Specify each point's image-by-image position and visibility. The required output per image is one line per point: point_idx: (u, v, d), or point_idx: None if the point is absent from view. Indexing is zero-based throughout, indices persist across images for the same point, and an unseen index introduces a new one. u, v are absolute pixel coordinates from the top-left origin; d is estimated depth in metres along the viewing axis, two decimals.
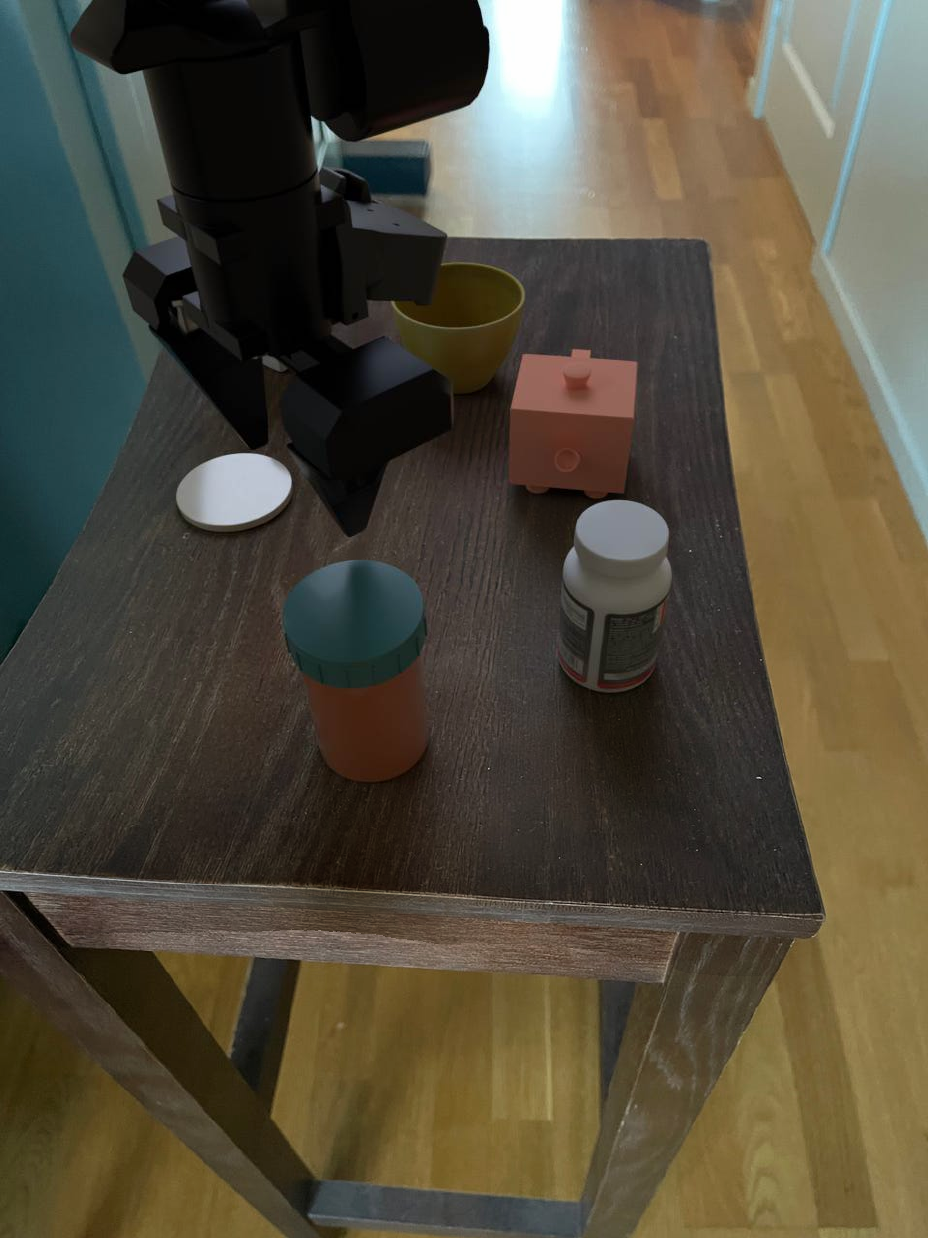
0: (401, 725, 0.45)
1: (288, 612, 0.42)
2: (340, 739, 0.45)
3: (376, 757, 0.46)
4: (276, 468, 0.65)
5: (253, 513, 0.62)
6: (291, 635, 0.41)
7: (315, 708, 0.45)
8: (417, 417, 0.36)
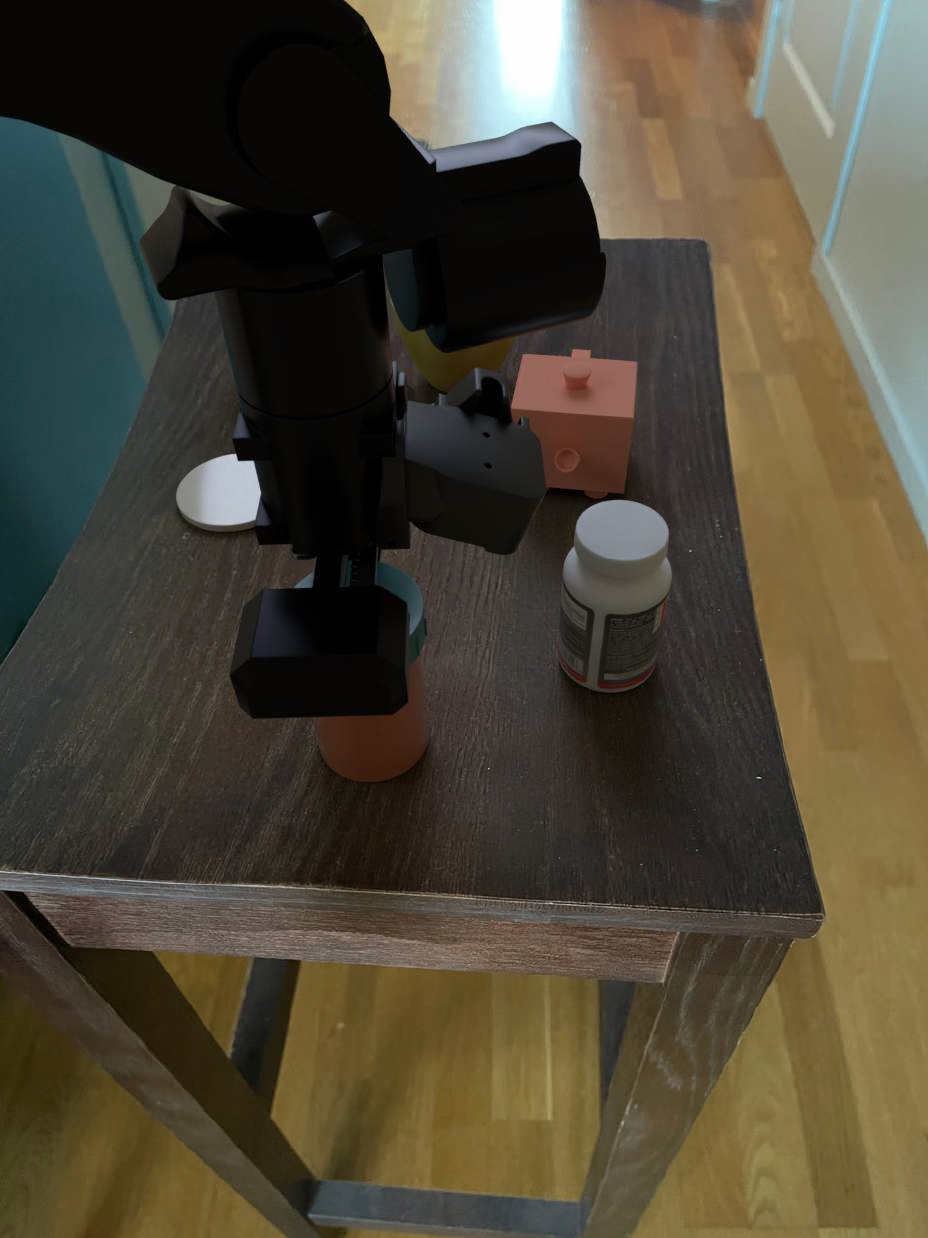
0: (401, 725, 0.45)
1: None
2: (340, 739, 0.45)
3: (376, 757, 0.46)
4: None
5: (253, 513, 0.62)
6: None
7: None
8: (341, 692, 0.32)
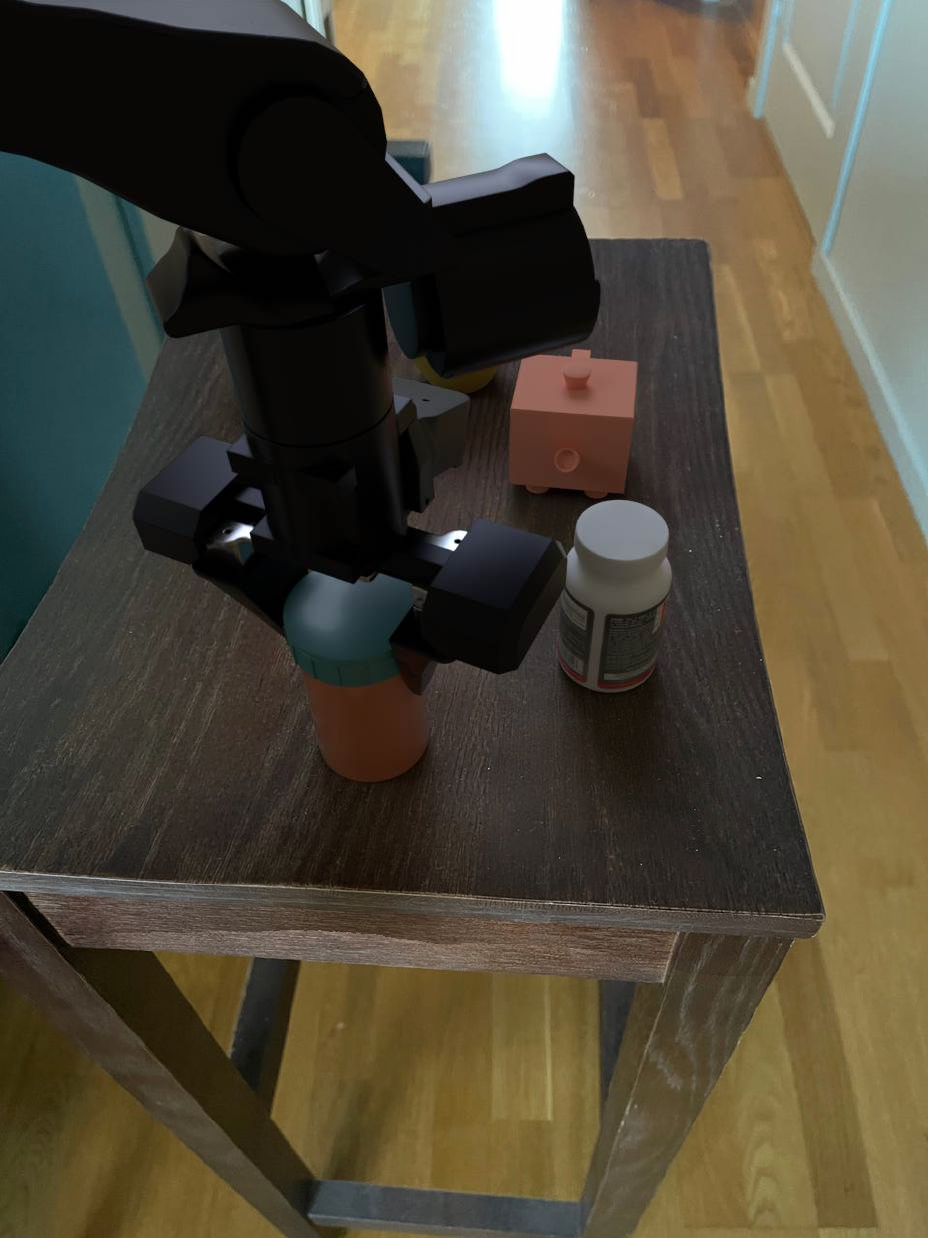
0: (401, 725, 0.45)
1: (319, 651, 0.40)
2: (340, 739, 0.45)
3: (376, 757, 0.46)
4: None
5: None
6: (351, 657, 0.40)
7: (315, 708, 0.45)
8: (551, 588, 0.37)
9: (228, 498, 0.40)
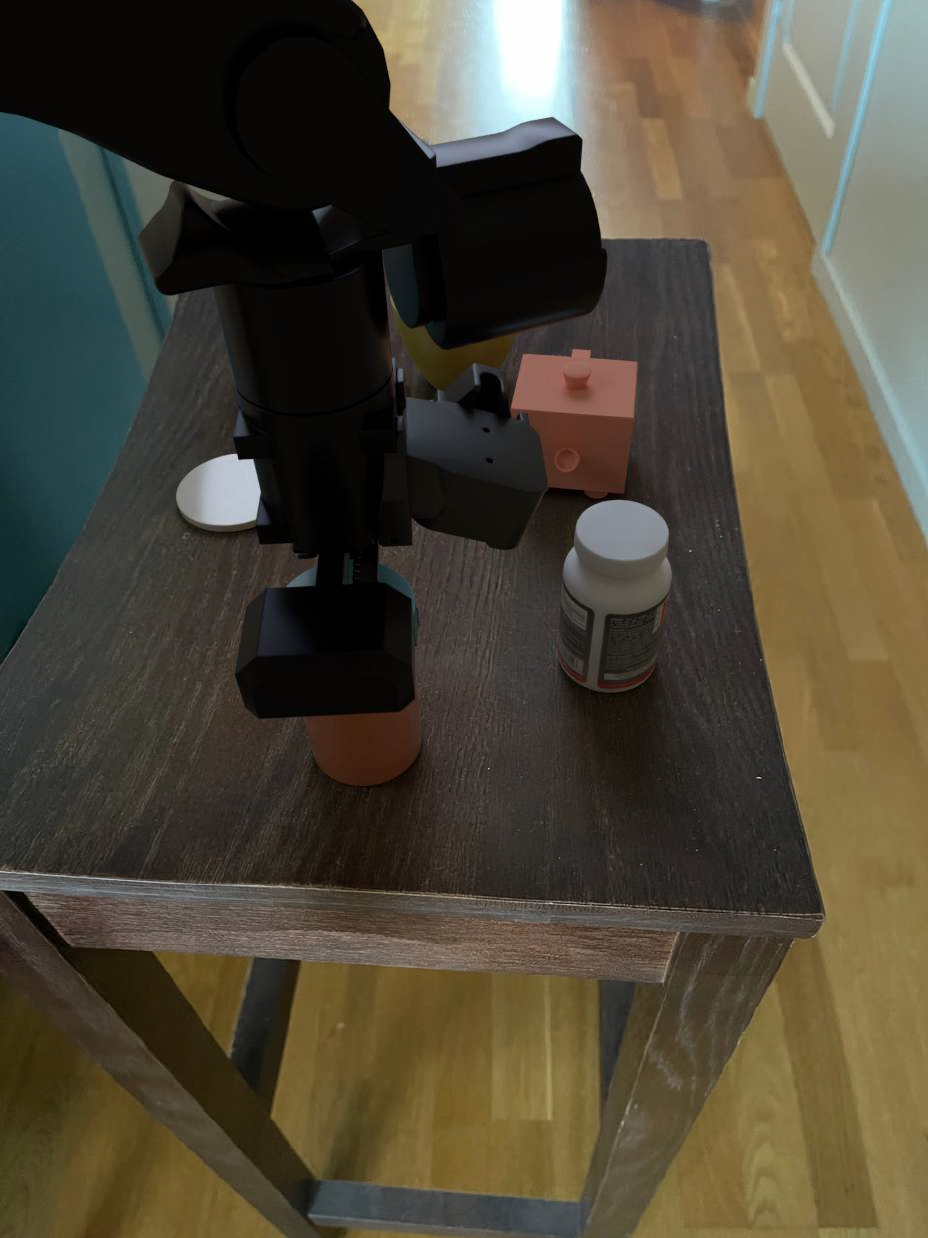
0: (394, 728, 0.45)
1: None
2: (333, 743, 0.45)
3: (369, 760, 0.46)
4: None
5: (253, 513, 0.62)
6: None
7: None
8: (348, 690, 0.32)
9: None
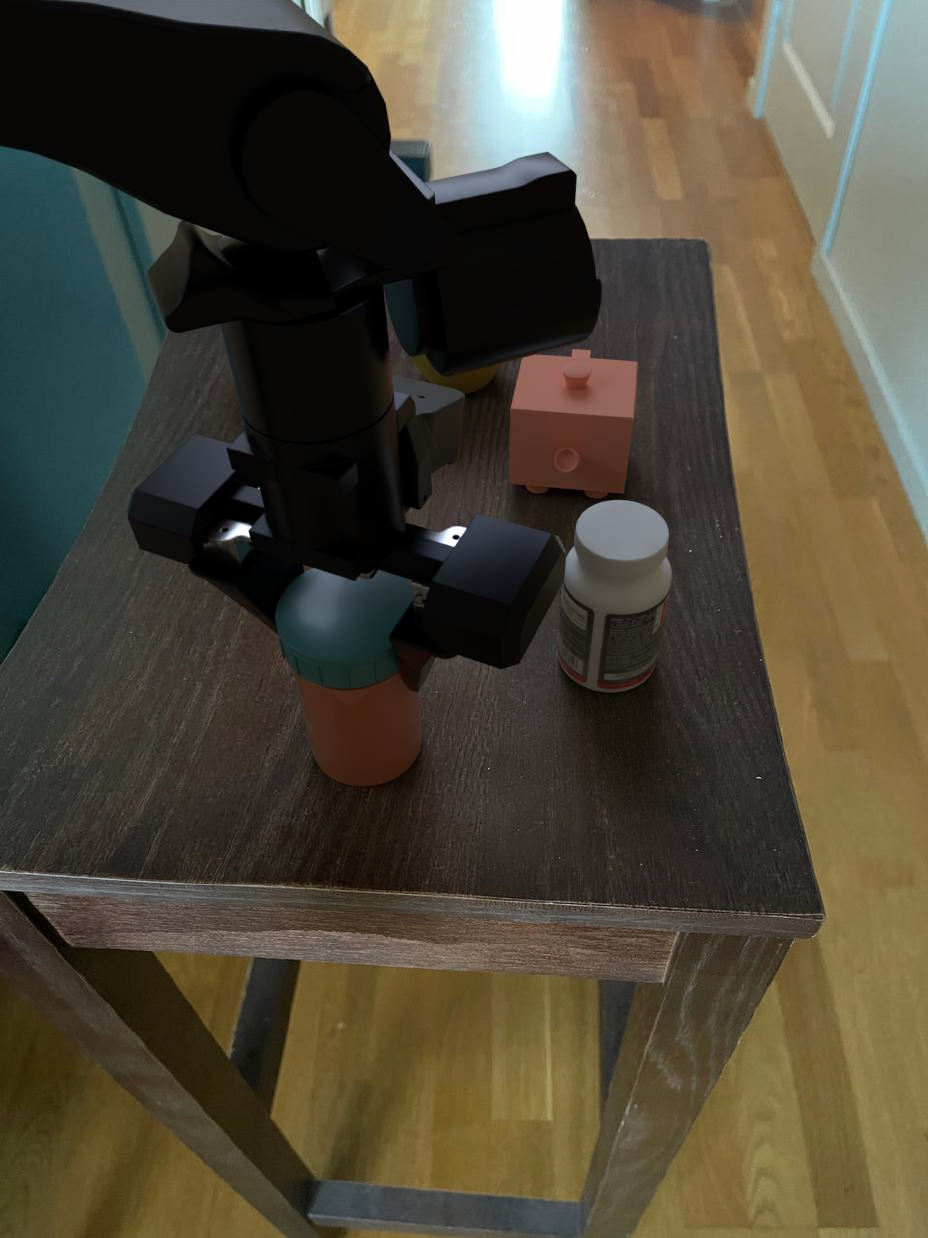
0: (395, 729, 0.45)
1: (411, 598, 0.42)
2: (334, 744, 0.45)
3: (370, 761, 0.46)
4: None
5: None
6: (402, 577, 0.43)
7: (309, 712, 0.44)
8: (551, 582, 0.37)
9: (224, 496, 0.40)
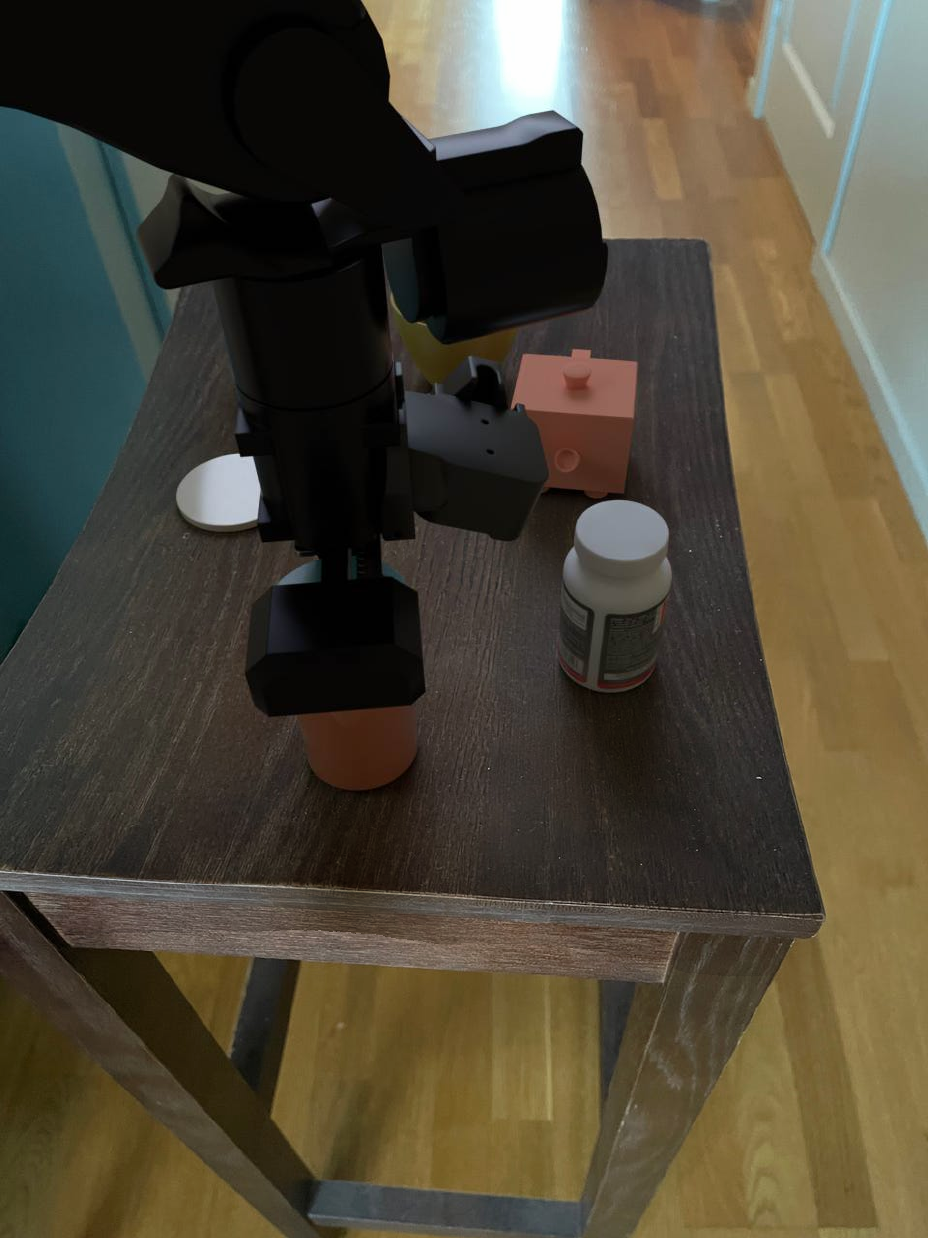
0: (389, 729, 0.45)
1: (300, 570, 0.43)
2: (327, 744, 0.45)
3: (364, 763, 0.45)
4: None
5: (253, 513, 0.62)
6: None
7: None
8: (359, 685, 0.32)
9: None
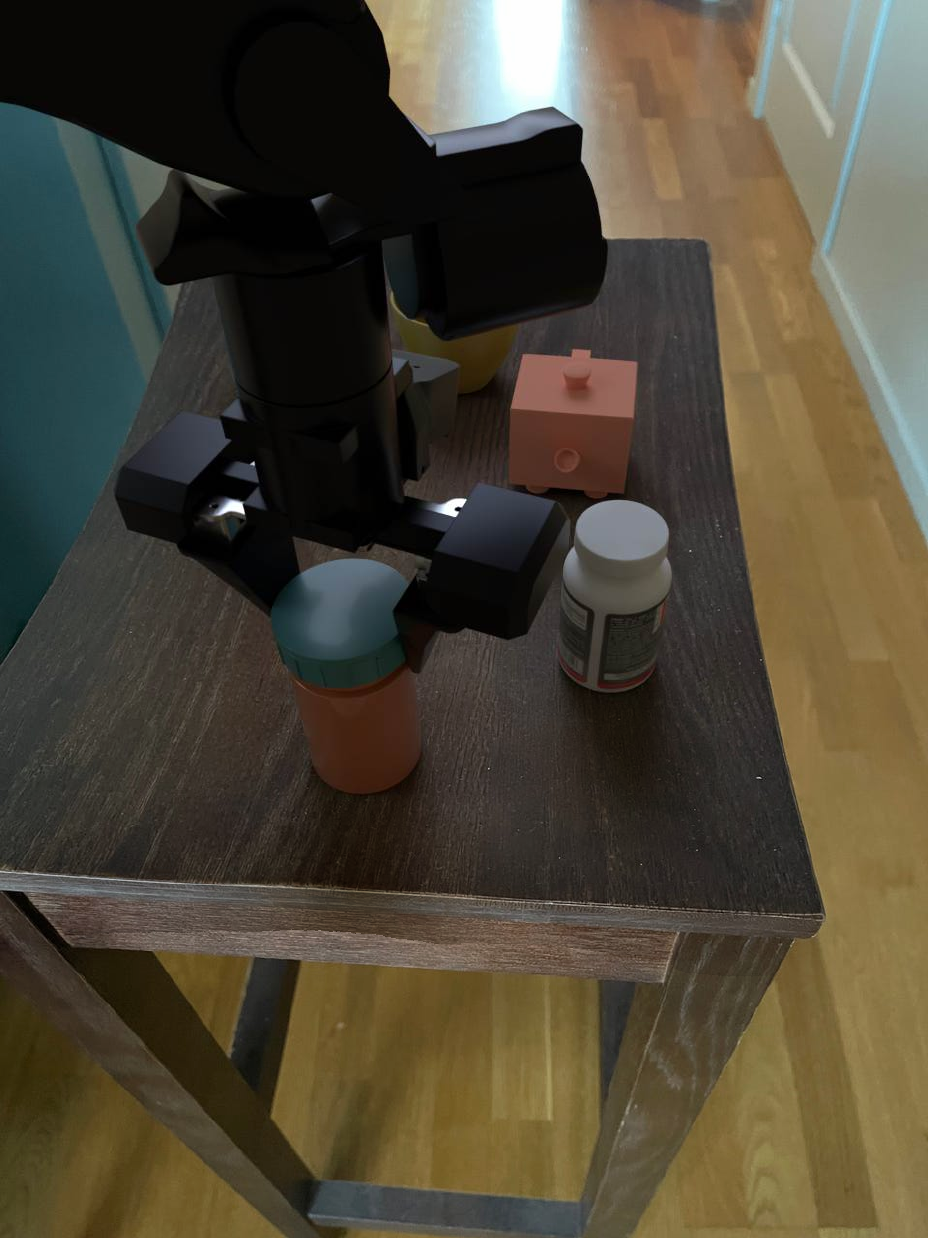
0: (397, 734, 0.45)
1: (276, 622, 0.41)
2: (336, 753, 0.45)
3: (373, 768, 0.46)
4: None
5: None
6: (286, 643, 0.40)
7: (309, 723, 0.44)
8: (557, 551, 0.36)
9: (214, 472, 0.39)
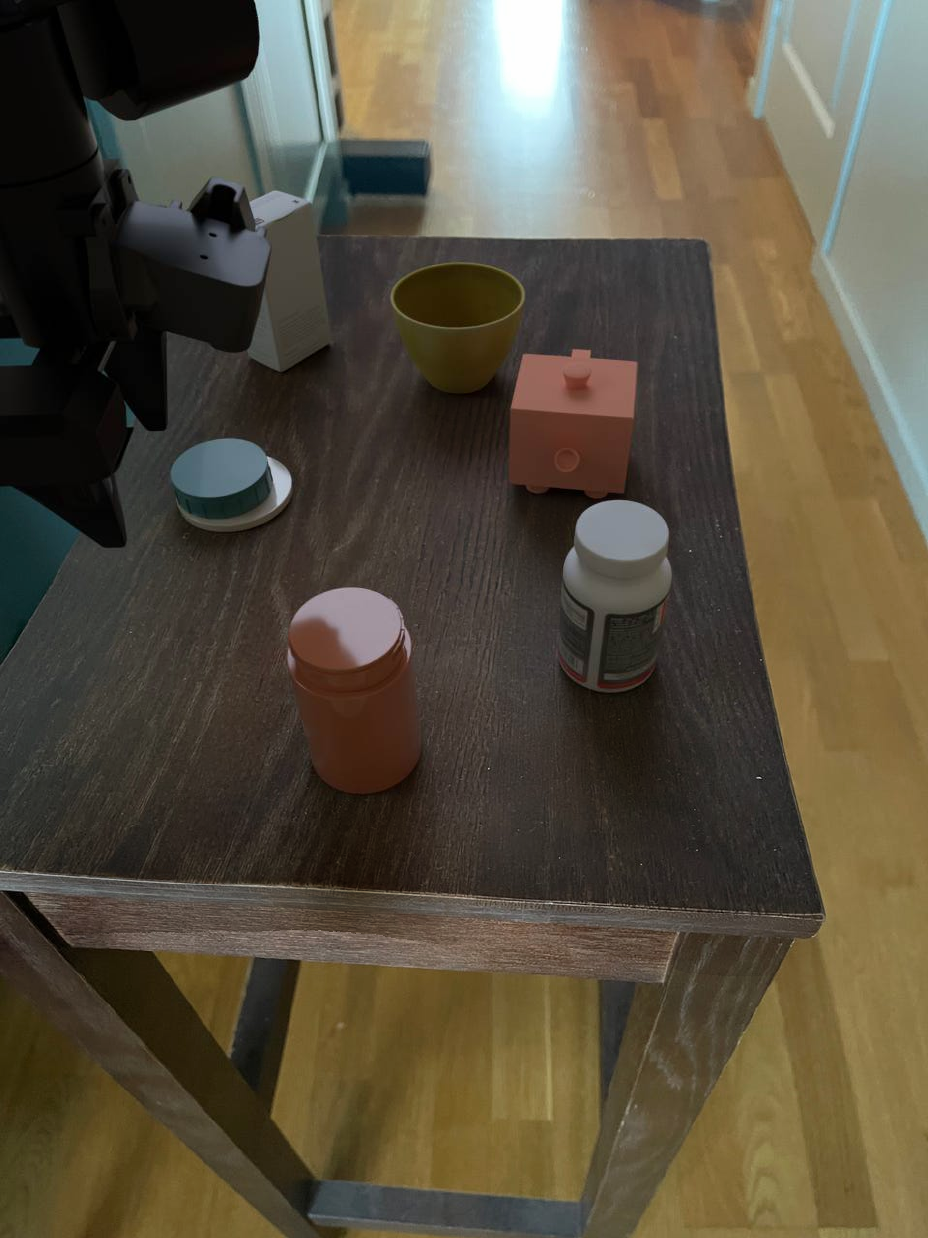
0: (397, 734, 0.45)
1: (197, 446, 0.64)
2: (336, 753, 0.45)
3: (373, 768, 0.46)
4: (276, 468, 0.65)
5: (253, 513, 0.62)
6: (180, 456, 0.63)
7: (309, 723, 0.44)
8: (34, 455, 0.33)
9: None
